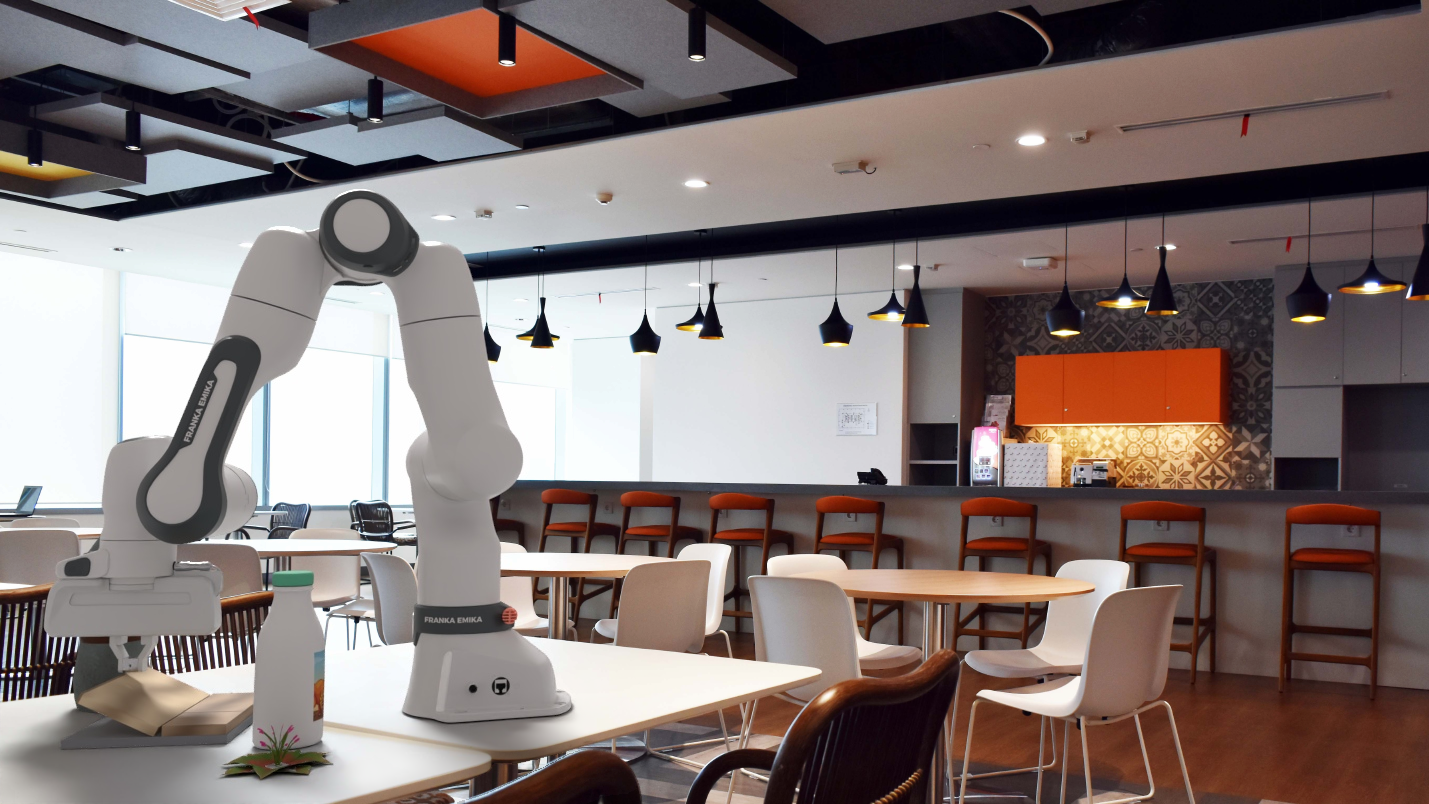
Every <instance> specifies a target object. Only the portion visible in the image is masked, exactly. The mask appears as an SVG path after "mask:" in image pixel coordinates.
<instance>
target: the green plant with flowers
mask: <svg viewBox="0 0 1429 804" xmlns="http://www.w3.org/2000/svg"><path fill="white" fill-rule="evenodd" d="M292 726H293V725H291V726H290V727H289V729H288V730H287V731H286V733H285V735H283V738H282V740H281V742H282V743H281V742H280V741H279V748H280V750H279V748H278V746H276V743H277V740H276V737H275V733H274V729H273V727H272V725H271V728H272V730H273V735H274V740H275V742H274V741H273V739H272V738H271V737H270V736H269V735H268V734H267V733H265V732H264V731H263V730H262V729H260V728H258V729H257V730H259V733H262V734H265V735H266V736H267V737H268V739H269V740H270V742H271V741H272V742H273V744H274V745H273V746H272V749H273V747H274V746H275V750H274V749H273V750H272V749H271V747H270V746H268V745H267V744H265V742H263V741H260V743H261V746H264V747H268V748H269V749H270V750H269V751H270V752H257V753H247V754H246V755H242V756H238V757H237V758H234V759H233V760H231V761H229V762H227V763H224V764H221V765H220V766H229V765H238V764H239V765H240V764H241V765H240V766H234V767H230V768H228V769H227V770H226V771H224V773H222V774H220V775H219V777H220V776H228V775H235V774H241V773H251V772H252V773H256V774H257V775H258V776H259V778H260V780H262V779H263V778H265V777H267V776H268V775H270V774H272V773H273V772H276V773H277V772H278V773H281V772H289V773H295V774H297V773H298V774H306V775H310V772H311V769H312V768H311V767H312V766H311V765H308V764H306V763H318V764H328V765H330V764H331V765H333V764H334V763H332V762H330V761H329V760H327V758H325V757H323V756H325V755H327V754H330V753H331V752H321V751H319V752H317V751H308V752H307V751H306V752H302V750H301V749H297V750H291V749H290V748H291V746H292V745H293V744H294V743H296V742H297V741H298V740H299V739H300V738H297V739H296V740H295V741H294V742H293V743H292V744H291V745H290V743H291V742H292V741H293V740H294V739H295V738H296V737H297V736H298V735H296V736H294V737H293V739H292V740H291V742H290V743H289V745H290V747H289V745H288V743H286V744H285V746H287V745H288V746H287V748H286V749H283V747H284V743H285V741H286V739H287V736H288V733H290V732H291V731H292V730H293V728H294V727H292ZM282 728H283V726H282ZM281 731H282V729H281ZM280 738H281V734H280ZM266 745H267V746H266ZM271 745H272V743H271ZM280 745H281V747H280ZM288 747H289V748H288ZM282 749H283V750H282ZM282 764H285V765H286V766H285V765H284V766H282ZM271 765H274V766H275V767H274V768H272V767H268V766H271ZM293 765H295V767H294V771H293V770H279V769H282V768H285V767H287V766H288V767H290V766H293Z"/></svg>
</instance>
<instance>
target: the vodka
mask: <svg viewBox="0 0 1429 804" xmlns="http://www.w3.org/2000/svg"><path fill="white" fill-rule="evenodd" d="M99 547H100V536H98V538H97V539H96V541H95V542H94V543H93V544H92V546H91V547H90V549H89V550H88V551H87V552H92V551H97V550H98V549H99ZM109 643H110V636H104V637H79V646H78V650H77V655H76V659H75V665H74V671H73V676H72V687H73V698H74V702H76V701H77V699H78V697H79V695H80V693H82V692H84V691H86V690H88V689H91V688H93V687H95V686H97V685H99V684H102V683H104V682H106V681H108V680H111V679H113V678H115V677H117V676H120V675H122V674H124V673H126V672H123V673H119V672H118V659H117V657H116V656H115V654H114V652H113V651H112V649H111V647H110V646H109ZM123 645H124V647H125V649H126V651H127V653H128V655H129V657H138V656H139V655H140V653H141V652H142V650H143V648H144V647H145V645H146V644H145V645H141V636H128V640H127V643H124V644H123ZM149 661H150V659H148V663H147V666H148V667H150V662H149ZM75 707H76V710H78V711H80V712H87V713H88V712H89V713H90V712H91V713H96V711H94V710H91V709H89V708H87V707H85V706H82V705H80V704H78V703H75Z"/></svg>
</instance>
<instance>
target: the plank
mask: <svg viewBox="0 0 1429 804" xmlns="http://www.w3.org/2000/svg"><path fill="white" fill-rule="evenodd" d="M210 695H211V694H210V693H208V692H206V691H203V690H201V689H199V688H197V687H195V686H192V685H190V684H187V683H186V682H184V681H181V680H179V679H176V678H174V677H172V676H170V675H169V674H166V673H163V672H162V671H158V670H156V669H154V668H152V667H150V666H149V667H148V666H147V670H146V671H144V672H126V673H124V674H122V675H120V676H117V677H115V678H113V679H111V680H108V681H106V682H104V683H102V684H99V685H97V686H95V687H93V688H91V689H88V690H86V691H84V692H82V693H80V695H79V697H78V699H77V701H76V702H75V701H74V702H75V704H76V703H78V704H80V705H82V706H85V707H87V708H89V709H91V710H94V711H96V712H97V713H98V714H100V715H103V716H104V717H106V716H107V717H109V718H112V719H114V720H116V721H119V722H121V723H123V724H125V725H128V726H130V727H132V728H134V729H137V730H139V731H141V732H143V733H146V734H148V735H150V736H153V737H154V736H155V735H157V734H158V733H160V732H161V731H162V726H163V725H164V724H166V723H167V722H169V721H171V720H172V719H174V718H175V717H177V716H179V715H180V714H182V713H183V712H185V711H186V710H188V709H190V708H191V707H193V706H194V705H196V704H198V703H199V702H201V701H202V700H204V699H206V698H207V697H209V696H210ZM96 712H95V713H96Z"/></svg>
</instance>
